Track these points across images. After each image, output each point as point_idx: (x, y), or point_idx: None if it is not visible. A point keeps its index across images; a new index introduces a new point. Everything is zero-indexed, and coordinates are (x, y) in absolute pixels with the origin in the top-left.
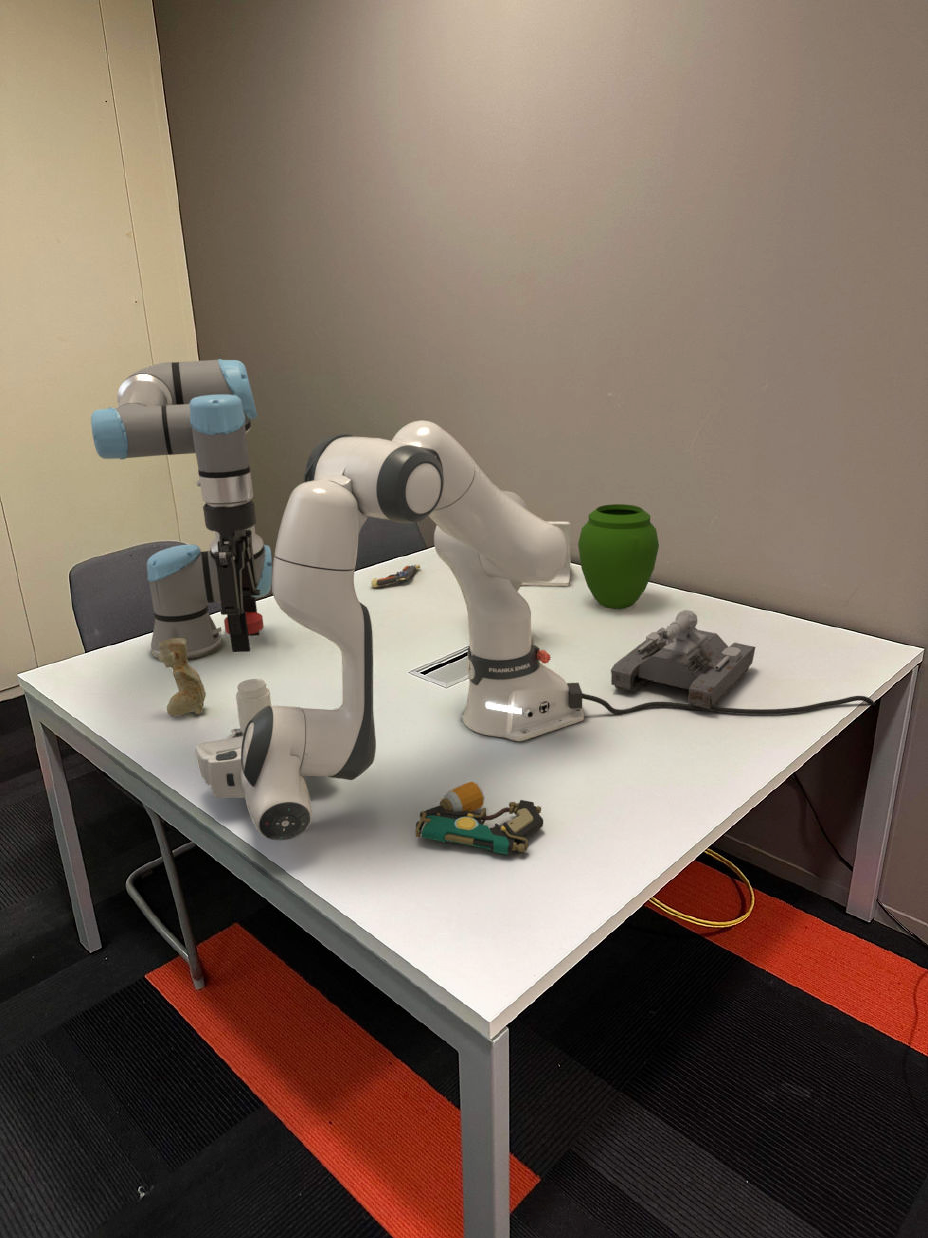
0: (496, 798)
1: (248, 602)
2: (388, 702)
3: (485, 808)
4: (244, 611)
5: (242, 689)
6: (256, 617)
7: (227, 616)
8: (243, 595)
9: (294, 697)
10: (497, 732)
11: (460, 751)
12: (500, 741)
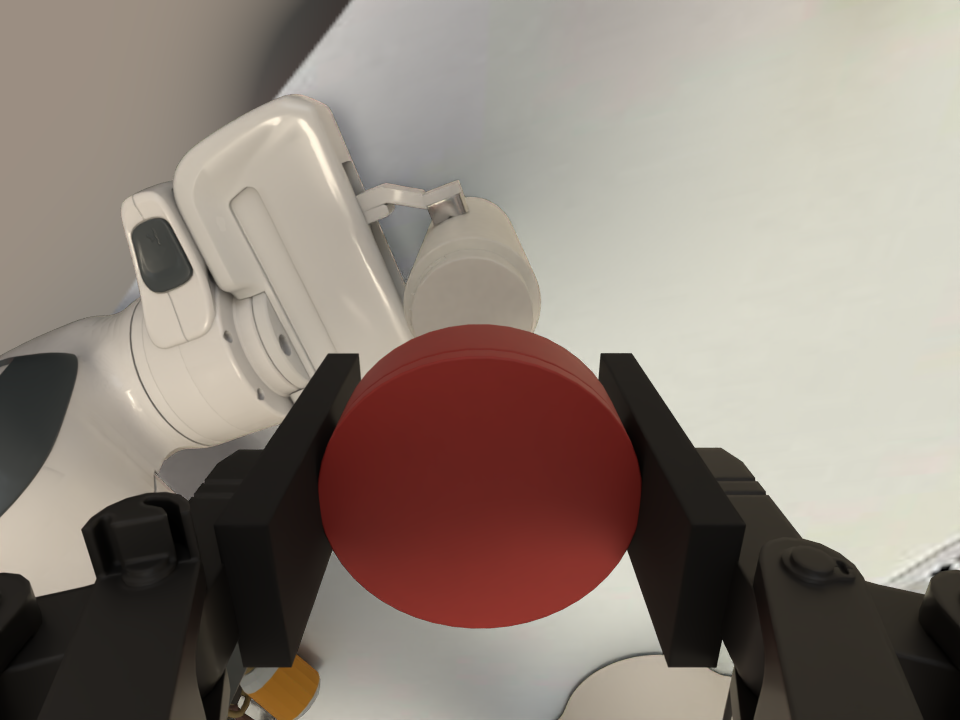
0: (340, 698)
1: (662, 586)
2: (788, 505)
3: (240, 716)
4: (289, 658)
5: (419, 290)
6: (493, 593)
7: (227, 504)
8: (741, 589)
9: (902, 250)
10: (568, 715)
11: (516, 648)
12: (550, 708)
